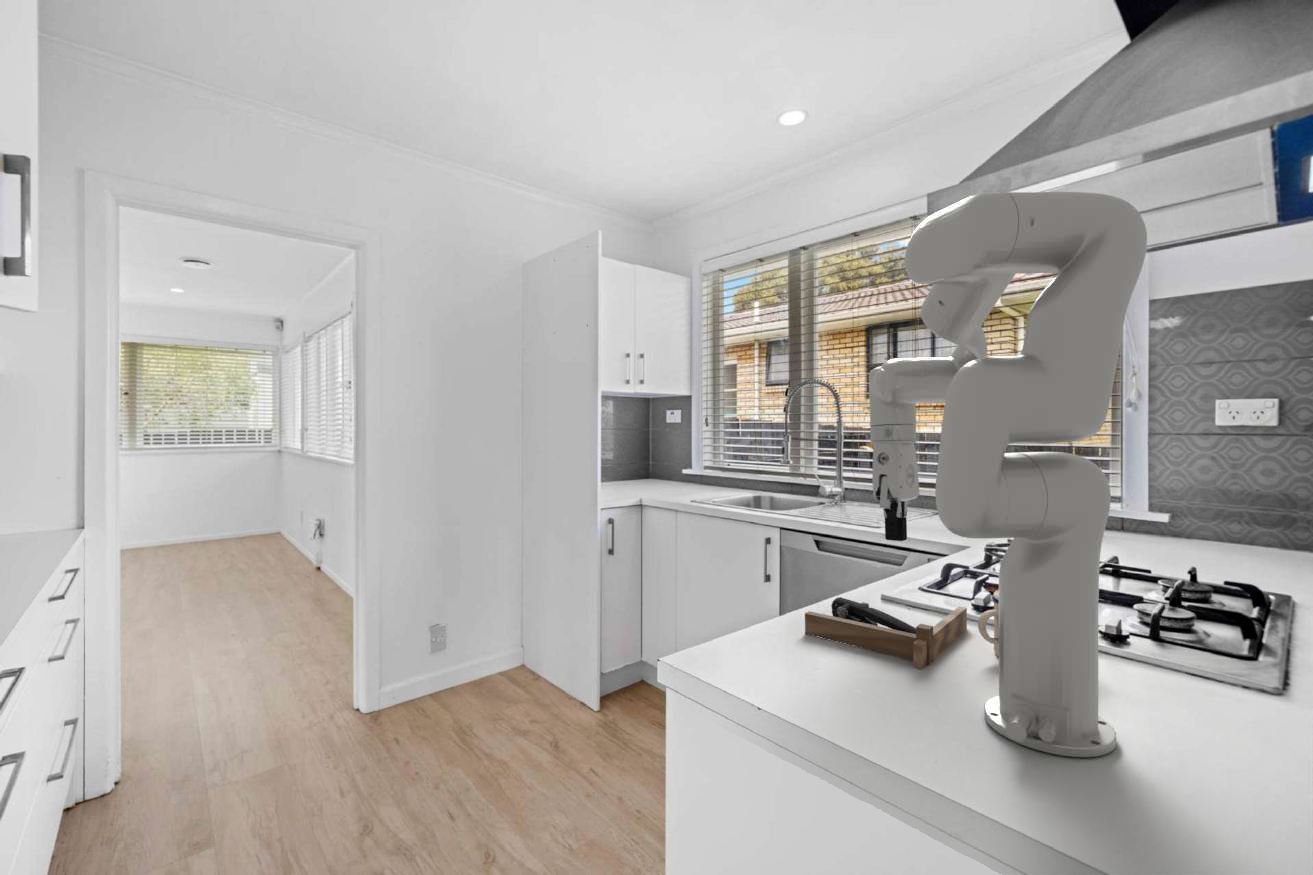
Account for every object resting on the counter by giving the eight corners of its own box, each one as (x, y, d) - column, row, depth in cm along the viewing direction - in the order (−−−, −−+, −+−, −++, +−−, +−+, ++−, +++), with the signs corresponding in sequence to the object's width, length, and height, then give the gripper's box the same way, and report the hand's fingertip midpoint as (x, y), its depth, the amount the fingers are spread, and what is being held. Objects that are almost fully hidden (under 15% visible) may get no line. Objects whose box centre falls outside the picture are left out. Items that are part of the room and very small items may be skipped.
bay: (924, 669, 85) (924, 633, 85) (798, 637, 99) (798, 606, 99) (968, 628, 102) (968, 598, 101) (855, 606, 115) (855, 579, 115)
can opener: (821, 628, 104) (821, 596, 104) (850, 621, 107) (849, 590, 107) (908, 663, 88) (908, 625, 88) (939, 653, 92) (939, 617, 92)
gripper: (898, 434, 98) (902, 547, 98) (929, 435, 109) (932, 536, 109) (854, 436, 103) (857, 543, 103) (888, 436, 114) (891, 533, 114)
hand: (896, 539), depth 106 cm, fingers closed
